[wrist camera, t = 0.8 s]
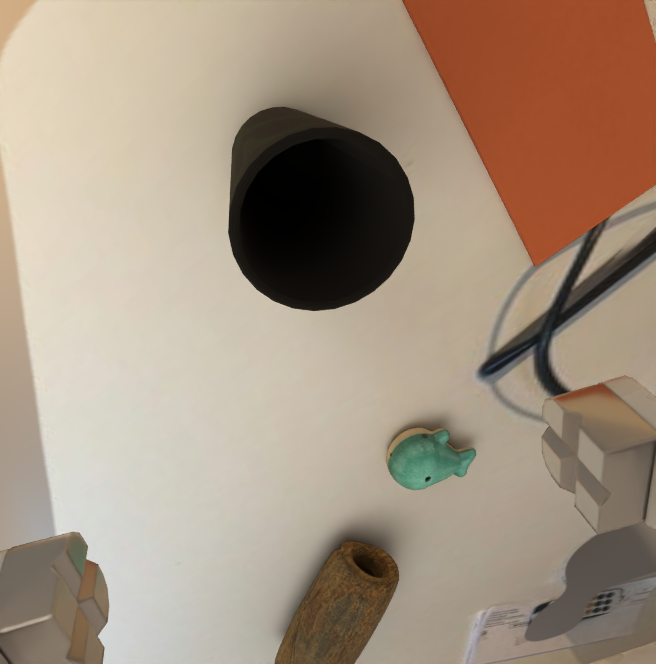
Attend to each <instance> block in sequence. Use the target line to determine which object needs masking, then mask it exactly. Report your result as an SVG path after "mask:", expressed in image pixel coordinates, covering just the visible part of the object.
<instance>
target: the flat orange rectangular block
mask: <svg viewBox="0 0 656 664" xmlns="http://www.w3.org/2000/svg"><path fill="white" fill-rule="evenodd" d="M403 2H404V4H405V6H406V8H407V10H408V12H409V14H410V16H411V18H412V20H413V22H414V24H415V26H416V28H417V30H418V33H419V35H420V37H421V39H422V41H423V43H424V45H425V47H426V49H427V51H428V53H429V55H430V57H431V59H432V61H433V63H434V65H435V67H436V69H437V71H438V73H439V75H440V77H441V79H442V81H443V83H444V85H445V87H446V89H447V91H448V93H449V95H450V97H451V99H452V101H453V103H454V105H455V107H456V109H457V111H458V113H459V115H460V117H461V119H462V121H463V123H464V125H465V127H466V129H467V131H468V133H469V135H470V137H471V139H472V141H473V143H474V145H475V147H476V149H477V151H478V153H479V155H480V157H481V159H482V161H483V163H484V165H485V167H486V169H487V171H488V173H489V175H490V177H491V179H492V181H493V183H494V185H495V187H496V189H497V191H498V193H499V195H500V197H501V199H502V201H503V203H504V205H505V207H506V209H507V211H508V213H509V215H510V217H511V219H512V221H513V223H514V225H515V227H516V229H517V231H518V233H519V235H520V237H521V239H522V241H523V243H524V245H525V247H526V249H527V251H528V253H529V255H530V257H531V259H532V261H533V263H534V265H535V266H537V265H539V264H540V263H542V262H543V261H545V260H546V259H548V258H549V257H550V256H552V255H553V254H555V253H556V252H558V251H559V250H561V249H562V248H564V247H565V246H567V245H568V244H570V243H571V242H572V241H574V240H575V239H577V238H578V237H580V236H581V235H583V234H584V233H586V232H587V231H589V230H590V229H591V228H593V227H594V226H596V225H597V224H599V223H600V222H602V221H603V220H605V219H606V218H608V217H609V216H611V215H612V214H613V213H615V212H616V211H618V210H619V209H621V208H622V207H624V206H625V205H627V204H628V203H630V202H631V201H632V200H634V199H635V198H637V197H638V196H640V195H641V194H643V193H644V192H646V191H647V190H649V189H650V188H652V187H653V186H654V185H656V43H655V40H654V36H653V33H652V29H651V25H650V22H649V18H648V15H647V11H646V8H645V4H644V1H643V0H403Z"/></svg>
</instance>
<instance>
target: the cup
mask: <svg viewBox="0 0 656 664" xmlns="http://www.w3.org/2000/svg"><path fill="white" fill-rule="evenodd" d="M414 220H415V217H414V197H413V194H412V190H411V187H410V184H409V180H408V177H407V175H406V174H405V172H404V171H403V169H402V167H401V166H400V164H399V162H398V161H397V159H396V158H395V157H394V156H393V155H392V154H391V153H390V152H389V151H388V150H387V149H386V148H385V147H384V146H382V145H381V144H380V143H379V142H377V141H375V140H373V139H371V138H369V137H368V136H366V135H364V134H362V133H360V132H357V131H355V130H352V129H349V128H346V127H343V126H341V125H338V124H335V123H332V122H329V121H326V120H324V119H321V118H318V117H315V116H312V115H309V114H307V113H304V112H301V111H298V110H295V109H290V108H286V107H275V108H270V109H266V110H263V111H260V112H259V113H257V114H255V115H254V116H252V117H250V118H249V119H248V120H247V121H246V122H245V123H244V124H243V126H242V127H241V129H240V130H239V132H238V134H237V135H236V137H235V141H234V144H233V148H232V164H231V186H230V207H229V229H228V233H229V238H230V243H231V247H232V252H233V255H234V257H235V259H236V261H237V263H238V265H239V267H240V269H241V271H242V273H243V275H244V276H245V277H246V278H247V279H248V280H249V281H250V283H251V284H252V285H253V286H254V287H255V288H256V289H257V290H258V291H260V292H261V293H263V294H264V295H265V296H267V297H268V298H270V299H271V300H273V301H275V302H277V303H280V304H283V305H285V306H288V307H291V308H294V309H302V310H310V311H319V310H329V309H336V308H339V307H342V306H345V305H348V304H351V303H354V302H356V301H358V300H360V299H362V298H363V297H365V296H367V295H369V294H370V293H372V292H374V291H375V290H376V289H377V288H378V287H379V286H380V285H381V284H382V283H384V282H385V281H386V280H387V279H388V278H389V277H390V276H391V274H392V273H393V272H394V270H395V269H396V267H397V266H398V265H399V263H400V262H401V261H402V259H403V256H404V254H405V252H406V250H407V247H408V245H409V243H410V240H411V235H412V230H413V225H414Z"/></svg>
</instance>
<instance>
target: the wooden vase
mask: <svg viewBox="0 0 656 664" xmlns="http://www.w3.org/2000/svg"><path fill="white" fill-rule="evenodd" d="M398 581H399V571H398V567H397V564H396V563H395V561H394V560H393V558H392V557H391V556H390V555H388V554H387V553H386V552H385V551H383V550H381V549H380V548H378V547H375V546H372V545H368V544H364V543H358V542H352V541H347V542H345V543H343V544H341V546H340V548H339V550H335V551H334V552H333V553H332V554H331V556H330V557H329V559H328V560H327V562H326V563H325V565H324V566H323V568H322V569H321V571H320V573H319V574H318V576H317V578H316V579H315V581H314V583H313V584H312V586H311V588H310V589H309V591H308V593H307V595H306V596H305V598H304V600H303V602H302V604H301V605H300V607H299V609H298V611H297V613H296V614H295V616H294V618H293V620H292V622H291V624H290V626H289V628H288V630H287V632H286V635H285V636H284V638H283V641H282V643H281V645H280V648H279V650H278V653H277V656H276V659H275V664H354V663H355V662H356V660H357V659H358V657H359V656H360V654H361V652H362V651H363V649H364V647H365V646H366V644H367V642H368V641H369V639H370V638H371V636H372V634H373V632H374V631H375V629H376V627H377V625H378V623H379V622H380V620H381V618H382V616H383V614H384V613H385V611H386V609H387V607H388V605H389V603H390V601H391V599H392V597H393V594H394V592H395V590H396V587H397V584H398Z"/></svg>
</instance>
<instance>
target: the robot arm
mask: <svg viewBox="0 0 656 664" xmlns="http://www.w3.org/2000/svg"><path fill="white" fill-rule="evenodd" d="M542 418H543V419H544V420H545V421H546V423H547V424H548V425H549V427H548V428H547V430H546V431H545V432H544V434H543V435H542V454H543V457H544V460H545V464H546V467H547V468H548V470H549V472H550V474H551V476H552V477H553V479H554V480H555V481H556V483H557V484H558V485H559V487H560V488H563V489H565V490H567V491H570V492H572V493H574V494H575V507H576V508H577V509H578V511H579V512H580V513H581V514H582V516H583V517H584V518H585V519H586V521H587V522H588V523H589V524H590V526H591V527H592V528H593V529H594V531H595V532H596V533H597V534H602V533H605V532H609V531H612V530H616V529H620V528H623V527H626V526H630V525H634V524H637V523H641V522H645V524H646V525H648V526H649V527H651V528H653V529H655V530H656V397H655V396H654V395H653V394H652V393H650V392H649V391H648V390H647V389H646V388H644V387H643V386H642V385H641V384H639V383H638V382H637V381H636V380H634V379H633V378H631V377H628V376H621V377H618V378H615V379H611V380H608V381H604V382H601V383H598V384H597V385H592V386H589V387H585V388H582V389H578V390H575V391H571V392H568V393H564V394H561V395H558V396H554V397H551V398H547V399H545V401H544V404H543V406H542ZM87 549H88V545H87V544H86V542H85V541H84V539H83V537H82V536H81V534H80V533H78V532H70V533H66V534H62V535H58V536H55V537H50V538H47V539H43V540H39V541H35V542H31V543H27V544H23V545H19V546H15V547H12V548H11V549H7V550H3V551H0V664H103V656H104V646H103V644H102V643H101V641H100V639H99V638H98V635H99V633H100V632H101V630H102V629H103V628H104V626H105V625H106V624H107V622H108V612H109V599H108V589H107V585H106V581H105V578H104V575H103V573H102V571H101V569H100V567H99V565H98V564H96V563H94V562H92V561H89V560H87V559H86V555H87ZM590 664H656V642H653V643H650V644H647V645H644V646H641V647H638V648H635V649H632V650H629V651H626V652H623V653H620V654H617V655H614V656H611V657H608V658H605V659H602V660H599V661H596V662H593V663H590Z"/></svg>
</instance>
